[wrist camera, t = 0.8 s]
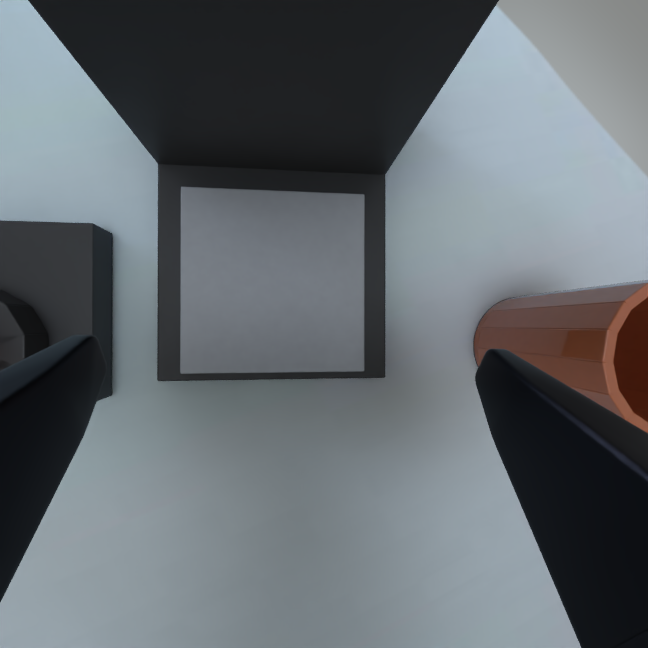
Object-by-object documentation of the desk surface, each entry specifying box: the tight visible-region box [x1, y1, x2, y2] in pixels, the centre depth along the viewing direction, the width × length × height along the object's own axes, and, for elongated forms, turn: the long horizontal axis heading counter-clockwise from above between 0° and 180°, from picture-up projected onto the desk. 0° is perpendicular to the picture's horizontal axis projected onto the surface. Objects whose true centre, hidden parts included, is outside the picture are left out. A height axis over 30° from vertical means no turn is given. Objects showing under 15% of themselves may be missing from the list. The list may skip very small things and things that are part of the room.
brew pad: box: [0, 221, 112, 401], centre depth 19 cm, size 10×9×4 cm
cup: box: [474, 280, 648, 433], centre depth 20 cm, size 7×7×10 cm
